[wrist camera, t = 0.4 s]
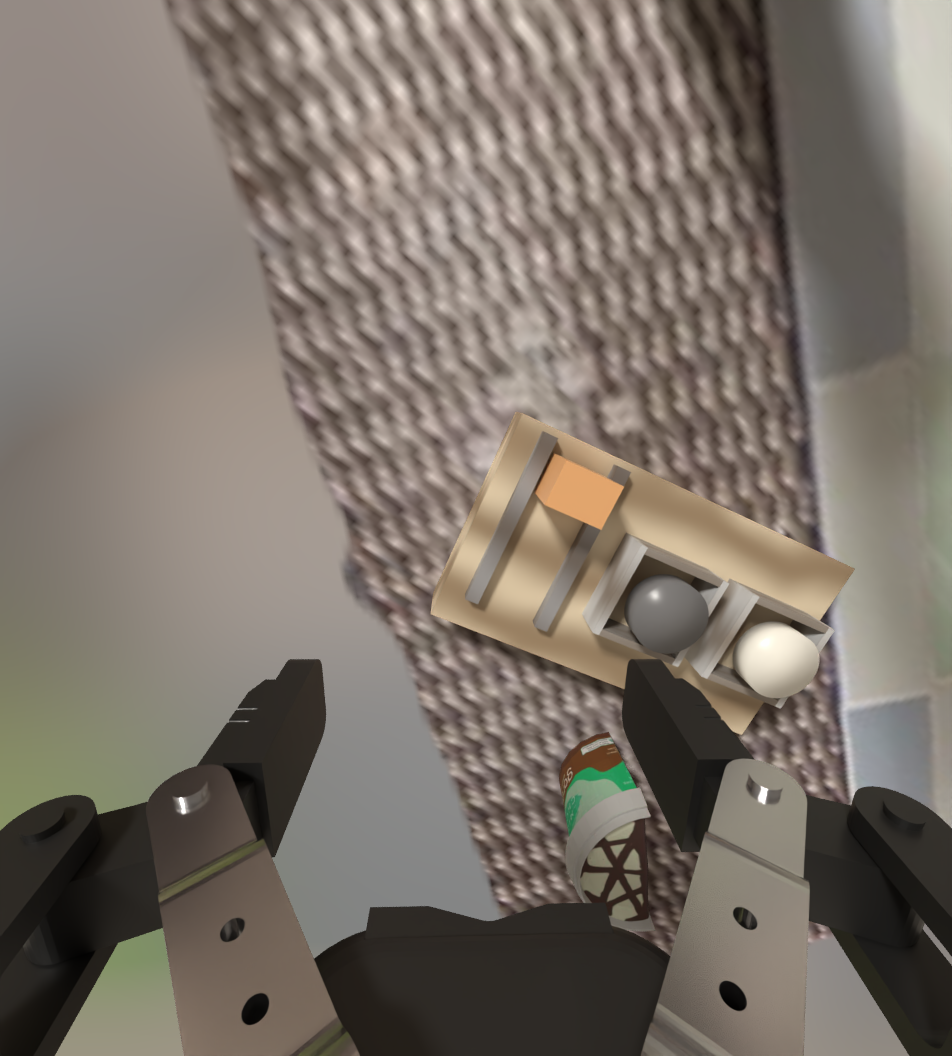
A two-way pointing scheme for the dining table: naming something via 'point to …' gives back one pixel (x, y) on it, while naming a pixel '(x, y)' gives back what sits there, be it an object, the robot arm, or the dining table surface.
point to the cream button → (775, 659)
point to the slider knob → (578, 491)
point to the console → (624, 571)
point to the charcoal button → (666, 613)
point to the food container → (606, 832)
